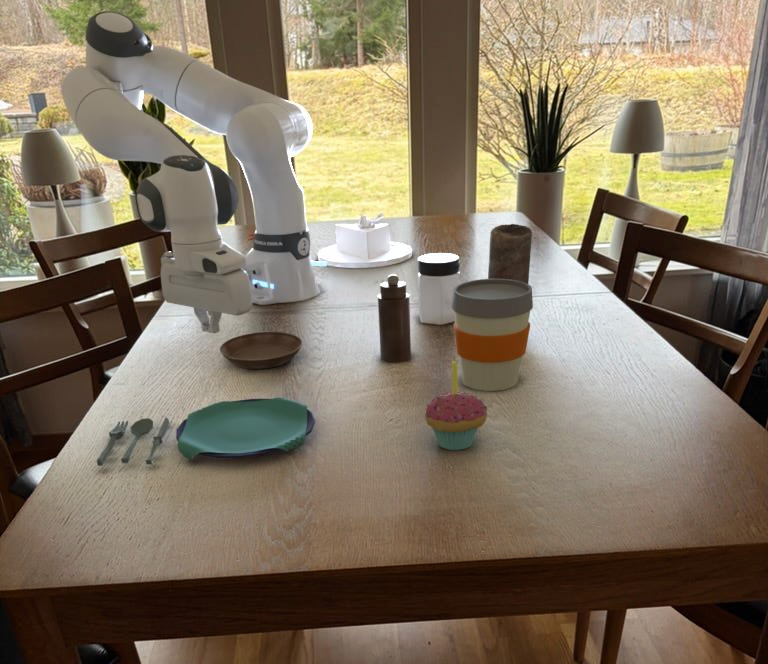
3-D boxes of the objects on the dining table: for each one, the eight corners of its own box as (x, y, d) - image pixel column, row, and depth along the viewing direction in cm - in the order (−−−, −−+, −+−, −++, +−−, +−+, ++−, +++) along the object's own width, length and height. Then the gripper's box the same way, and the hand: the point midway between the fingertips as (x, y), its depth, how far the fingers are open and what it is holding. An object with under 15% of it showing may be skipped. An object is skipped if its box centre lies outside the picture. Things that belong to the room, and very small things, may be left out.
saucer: (303, 370, 137) (301, 355, 136) (217, 376, 136) (215, 361, 135) (304, 343, 150) (302, 329, 148) (225, 348, 149) (223, 334, 148)
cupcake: (421, 432, 113) (420, 352, 107) (480, 428, 113) (482, 347, 107) (430, 459, 106) (428, 374, 99) (492, 454, 106) (495, 369, 100)
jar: (433, 328, 154) (432, 265, 148) (409, 318, 160) (407, 258, 154) (469, 318, 158) (469, 257, 152) (444, 309, 164) (444, 250, 158)
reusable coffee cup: (483, 401, 122) (485, 305, 114) (436, 378, 131) (435, 287, 123) (545, 382, 127) (551, 289, 119) (495, 361, 136) (498, 274, 129)
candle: (529, 335, 148) (535, 224, 137) (522, 348, 142) (527, 232, 131) (489, 333, 150) (492, 223, 140) (480, 345, 144) (483, 231, 134)
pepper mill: (374, 359, 140) (370, 276, 133) (391, 350, 144) (388, 269, 136) (400, 364, 137) (397, 280, 130) (416, 355, 141) (414, 272, 134)
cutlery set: (315, 463, 106) (313, 448, 105) (90, 478, 105) (86, 463, 104) (316, 405, 123) (315, 392, 122) (123, 418, 122) (120, 404, 121)
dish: (428, 250, 212) (428, 205, 206) (378, 271, 194) (376, 224, 188) (353, 242, 224) (350, 200, 218) (299, 262, 206) (295, 217, 200)
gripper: (146, 254, 144) (160, 328, 151) (227, 265, 133) (238, 345, 140) (173, 246, 148) (185, 319, 155) (252, 257, 138) (262, 335, 145)
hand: (211, 331), depth 148 cm, fingers closed
